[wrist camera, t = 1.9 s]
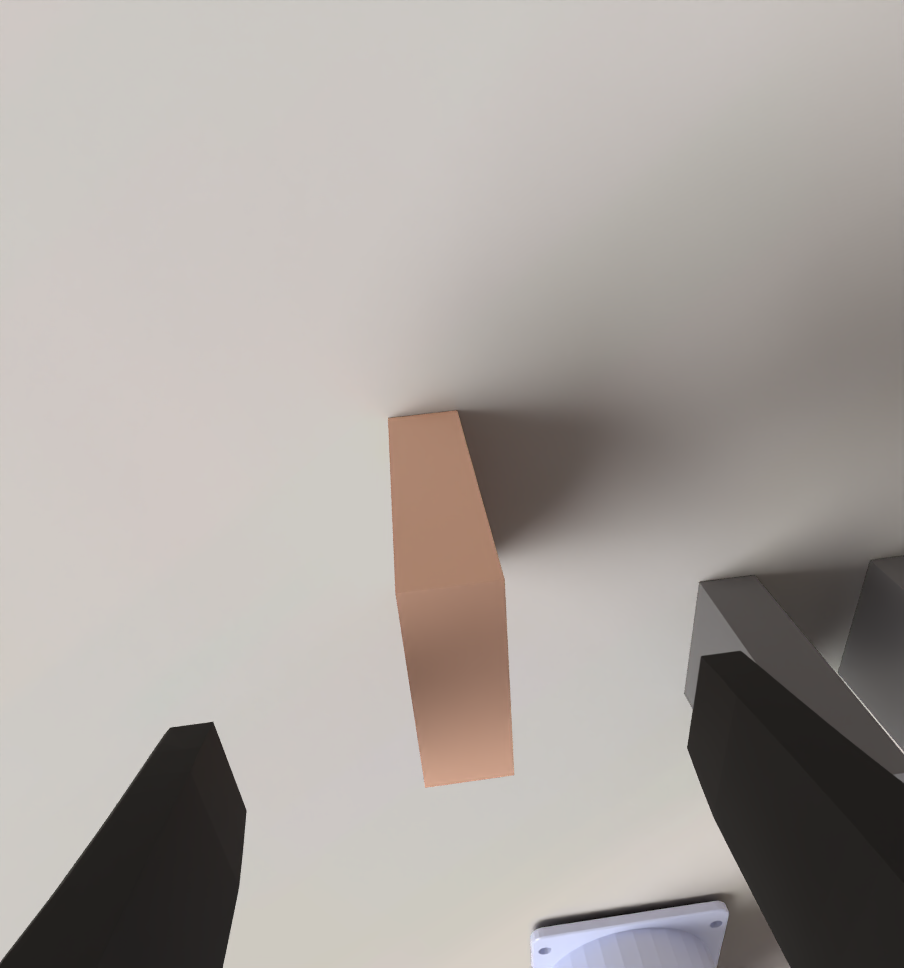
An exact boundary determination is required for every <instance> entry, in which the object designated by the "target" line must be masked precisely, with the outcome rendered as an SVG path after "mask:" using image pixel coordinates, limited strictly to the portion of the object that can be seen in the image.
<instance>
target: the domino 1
mask: <svg viewBox="0 0 904 968" xmlns="http://www.w3.org/2000/svg"><path fill="white" fill-rule="evenodd" d="M388 428H389V451H390V475H391V498H392V522H393V545H394V569H395V593H396V600H397V606H398V613H399V619H400V626H401V632H402V639H403V645H404V652H405V658H406V665H407V671H408V678H409V685H410V691H411V698H412V704H413V711H414V717H415V724H416V730H417V737H418V743H419V750H420V756H421V763H422V769H423V776H424V782H425V788H427V787H434V786H441V785H448V784H455V783H462V782H469V781H476V780H483V779H490V778H497V777H504V776H511V775H514V763H513V742H512V722H511V701H510V680H509V660H508V639H507V619H506V598H505V579H504V576H503V572H502V569H501V565H500V561H499V558H498V554H497V551H496V547H495V544H494V540H493V536H492V533H491V529H490V526H489V522H488V519H487V515H486V511H485V508H484V504H483V501H482V497H481V494H480V490H479V486H478V483H477V479H476V476H475V472H474V469H473V465H472V461H471V458H470V454H469V451H468V447H467V444H466V440H465V436H464V433H463V429H462V426H461V422H460V419H459V415H458V411H457V410H456V411H447V412H438V413H430V414H421V415H412V416H403V417H394V418H388Z"/></svg>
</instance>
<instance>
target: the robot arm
mask: <svg viewBox="0 0 904 968" xmlns="http://www.w3.org/2000/svg"><path fill="white" fill-rule="evenodd" d="M687 749H688V751H689V754H690V757H691V760H692V762H693V765H694V768H695V770H696V773H697V776H698V779H699V781H700V784H701V787H702V789H703V792H704V794H705V797H706V799H707V802H708V804H709V807H710V809H711V812H712V814H713V817H714V819H715V821H716V823H717V825H718V827H719V829H720V831H721V833H722V835H723V837H724V839H725V841H726V843H727V845H728V847H729V849H730V851H731V853H732V855H733V857H734V859H735V861H736V862H737V864H738V866H739V868H740V870H741V872H742V874H743V876H744V878H745V880H746V882H747V884H748V886H749V888H750V890H751V892H752V894H753V896H754V898H755V899H756V901H757V903H758V905H759V907H760V909H761V911H762V913H763V915H764V917H765V919H766V921H767V923H768V925H769V927H770V929H771V930H772V932H773V934H774V936H775V938H776V940H777V942H778V944H779V946H780V948H781V950H782V952H783V954H784V956H785V958H786V960H787V961H788V963H789V965H790V967H791V968H904V783H903V782H902V781H901V780H899V779H898V778H897V777H895V776H894V775H893V774H892V773H890V772H889V771H888V770H887V769H885V768H884V767H883V766H881V765H880V764H879V763H878V762H876V761H875V760H874V759H873V758H871V757H870V756H869V755H867V754H866V753H865V752H864V751H862V750H861V749H860V748H859V747H857V746H856V745H855V744H853V743H852V742H851V741H850V740H848V739H847V738H846V737H845V736H843V735H842V734H841V733H840V732H839V731H837V730H836V729H835V728H834V727H832V726H831V725H830V724H829V723H827V722H826V721H825V720H824V719H823V718H821V717H820V716H819V715H818V714H817V713H815V712H814V711H813V710H812V709H810V708H809V707H808V706H807V705H806V704H804V703H803V702H802V701H801V700H800V699H798V698H797V697H796V696H795V695H794V694H792V693H791V692H790V691H789V690H788V689H786V688H785V687H784V686H783V685H782V684H780V683H779V682H778V681H777V680H776V679H774V678H773V677H772V676H771V675H770V674H768V673H767V672H766V671H765V670H764V669H762V668H761V667H760V666H759V665H758V664H756V663H755V662H754V661H753V660H752V659H750V658H749V657H748V656H747V655H746V654H744V653H743V652H742V651H733V652H726V653H719V654H711V655H704V656H701V659H700V666H699V672H698V679H697V686H696V692H695V699H694V706H693V713H692V719H691V726H690V733H689V739H688V746H687ZM245 822H246V808H245V805H244V803H243V800H242V797H241V795H240V792H239V789H238V787H237V784H236V781H235V779H234V776H233V774H232V771H231V768H230V766H229V763H228V760H227V758H226V755H225V752H224V750H223V747H222V744H221V742H220V739H219V736H218V734H217V731H216V728H215V726H214V723H213V722H209V723H201V724H194V725H186V726H179V727H172V728H170V729H169V730H168V731H167V732H166V733H165V734H164V736H163V737H162V739H161V740H160V742H159V743H158V745H157V746H156V748H155V749H154V751H153V752H152V754H151V755H150V756H149V758H148V759H147V761H146V762H145V764H144V765H143V767H142V768H141V770H140V771H139V773H138V774H137V776H136V777H135V779H134V780H133V782H132V783H131V785H130V786H129V787H128V789H127V790H126V792H125V793H124V795H123V796H122V798H121V799H120V801H119V802H118V804H117V805H116V806H115V808H114V809H113V811H112V812H111V814H110V815H109V817H108V818H107V819H106V821H105V822H104V824H103V825H102V827H101V828H100V829H99V831H98V832H97V834H96V835H95V836H94V838H93V839H92V841H91V842H90V843H89V845H88V846H87V848H86V849H85V850H84V852H83V853H82V855H81V856H80V857H79V859H78V860H77V861H76V863H75V864H74V866H73V867H72V868H71V870H70V871H69V873H68V874H67V875H66V877H65V878H64V880H63V881H62V882H61V884H60V885H59V886H58V888H57V889H56V890H55V892H54V893H53V895H52V896H51V897H50V899H49V900H48V901H47V903H46V904H45V905H44V906H43V908H42V909H41V910H40V912H39V913H38V914H37V915H36V917H35V918H34V919H33V921H32V922H31V923H30V925H29V926H28V927H27V928H26V930H25V931H24V932H23V934H22V935H21V936H20V937H19V939H18V940H17V941H16V943H15V944H14V945H13V946H12V948H11V949H10V950H9V952H8V953H7V954H6V955H5V957H4V958H3V959H2V961H1V962H0V968H223V963H224V958H225V954H226V949H227V944H228V939H229V934H230V929H231V924H232V919H233V915H234V910H235V905H236V900H237V895H238V889H239V883H240V873H241V864H242V855H243V844H244V833H245ZM728 917H729V911H728V909H727V907H726V904H725V903H724V902H722V901H711V902H704V903H698V904H691V905H685V906H678V907H672V908H665V909H659V910H652V911H646V912H639V913H632V914H626V915H619V916H613V917H606V918H600V919H593V920H587V921H580V922H574V923H567V924H561V925H554V926H548V927H542V928H538V929H536V930H534V931H533V932H532V934H531V936H530V942H531V968H717V964H718V960H719V955H720V951H721V947H722V943H723V938H724V934H725V930H726V926H727V922H728Z"/></svg>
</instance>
